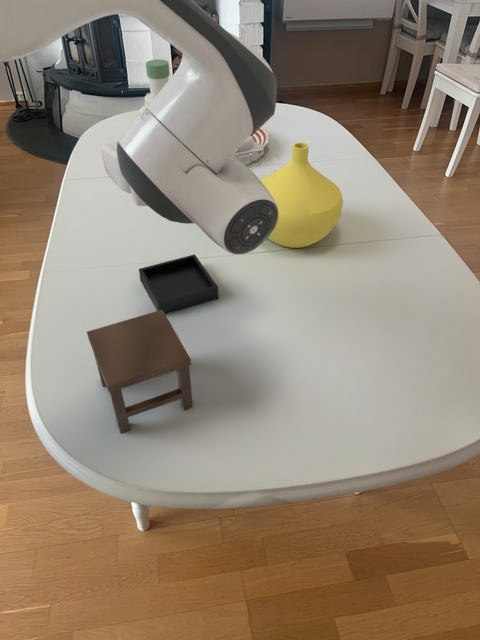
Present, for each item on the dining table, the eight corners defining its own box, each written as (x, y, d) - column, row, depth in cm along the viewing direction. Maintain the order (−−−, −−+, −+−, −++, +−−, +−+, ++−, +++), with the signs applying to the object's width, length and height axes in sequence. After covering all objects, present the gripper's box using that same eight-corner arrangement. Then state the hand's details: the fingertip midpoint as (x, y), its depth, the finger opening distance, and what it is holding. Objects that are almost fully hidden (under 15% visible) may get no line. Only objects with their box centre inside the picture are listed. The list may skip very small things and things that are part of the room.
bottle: (157, 200, 77) (142, 71, 65) (144, 183, 81) (128, 59, 70) (194, 192, 79) (186, 65, 67) (180, 175, 83) (170, 54, 71)
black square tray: (159, 316, 89) (158, 303, 87) (140, 280, 96) (138, 268, 94) (218, 298, 92) (218, 286, 91) (195, 265, 100) (194, 254, 98)
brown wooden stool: (119, 435, 70) (107, 386, 64) (99, 380, 78) (86, 331, 71) (194, 407, 74) (190, 358, 67) (168, 357, 81) (162, 309, 75)
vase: (264, 206, 117) (267, 121, 104) (345, 221, 112) (359, 133, 100) (236, 249, 104) (236, 158, 91) (326, 268, 99) (340, 174, 87)
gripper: (270, 131, 67) (226, 98, 77) (116, 161, 61) (88, 120, 70) (269, 176, 71) (227, 140, 81) (124, 209, 65) (97, 165, 74)
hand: (161, 131), depth 75 cm, fingers closed on bottle, 6 cm apart
